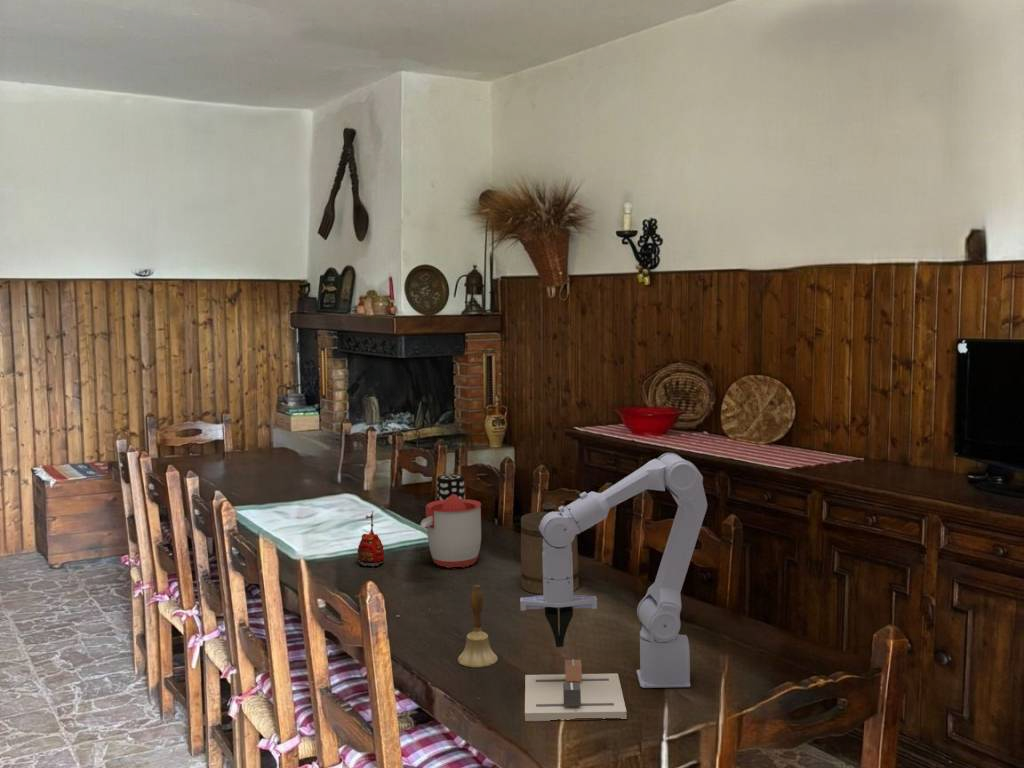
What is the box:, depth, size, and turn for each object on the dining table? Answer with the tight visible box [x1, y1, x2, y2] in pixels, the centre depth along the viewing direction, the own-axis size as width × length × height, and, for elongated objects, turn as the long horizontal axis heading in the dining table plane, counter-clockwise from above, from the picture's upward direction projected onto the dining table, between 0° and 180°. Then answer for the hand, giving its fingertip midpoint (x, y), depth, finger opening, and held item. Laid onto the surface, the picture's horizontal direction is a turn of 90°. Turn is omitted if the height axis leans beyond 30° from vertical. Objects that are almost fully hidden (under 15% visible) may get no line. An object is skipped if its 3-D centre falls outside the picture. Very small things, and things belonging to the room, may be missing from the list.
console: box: [524, 672, 628, 722], centre depth 179 cm, size 18×17×2 cm
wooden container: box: [520, 501, 580, 595], centre depth 247 cm, size 15×15×22 cm
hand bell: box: [457, 584, 499, 668], centre depth 199 cm, size 8×8×16 cm
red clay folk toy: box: [357, 510, 385, 563], centre depth 271 cm, size 8×7×15 cm
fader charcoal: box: [563, 683, 581, 706], centre depth 173 cm, size 3×3×3 cm
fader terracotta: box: [564, 658, 583, 681], centre depth 184 cm, size 3×3×3 cm
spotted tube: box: [436, 474, 466, 501], centre depth 294 cm, size 8×8×20 cm
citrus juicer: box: [420, 494, 482, 568], centre depth 270 cm, size 16×17×20 cm
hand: (559, 645), depth 184 cm, fingers closed
